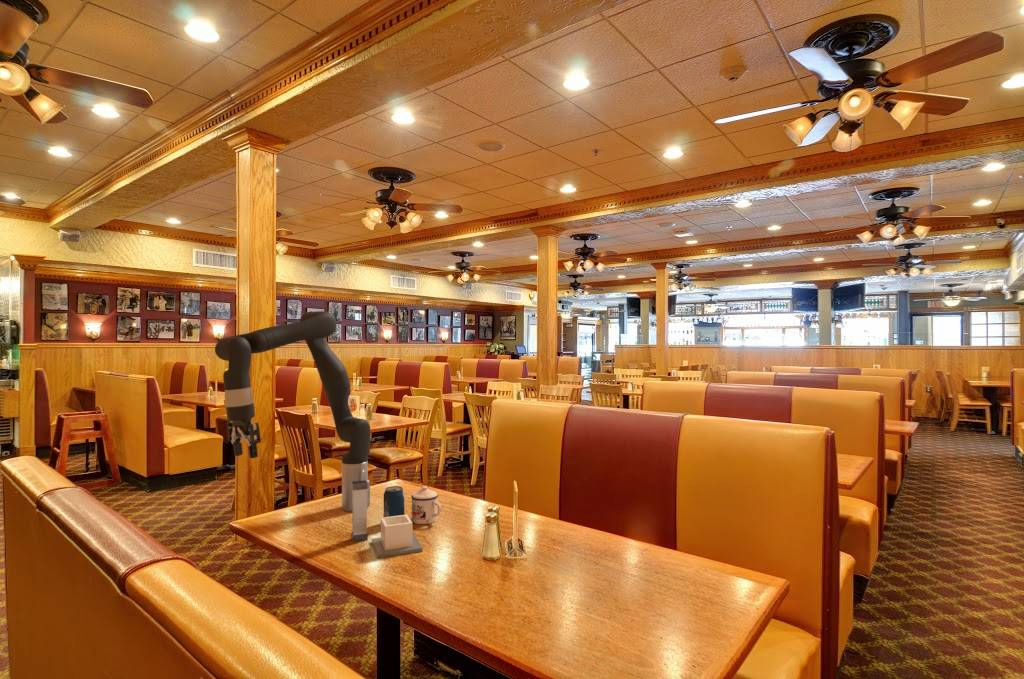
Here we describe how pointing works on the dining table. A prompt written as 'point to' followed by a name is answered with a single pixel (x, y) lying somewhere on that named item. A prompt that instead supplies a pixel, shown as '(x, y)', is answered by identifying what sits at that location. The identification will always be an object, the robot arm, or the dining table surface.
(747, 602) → the dining table surface
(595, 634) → the dining table surface
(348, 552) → the dining table surface
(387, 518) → the white square socket
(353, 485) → the white grey rectangular bar
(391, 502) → the soda can
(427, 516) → the teacup with lid
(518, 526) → the dining table surface
